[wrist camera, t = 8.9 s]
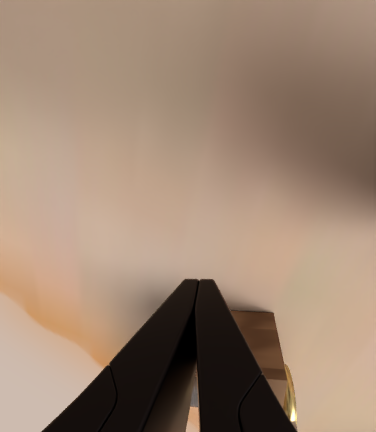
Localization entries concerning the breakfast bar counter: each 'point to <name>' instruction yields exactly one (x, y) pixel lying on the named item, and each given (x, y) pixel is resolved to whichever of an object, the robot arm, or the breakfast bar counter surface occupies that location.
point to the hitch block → (263, 348)
